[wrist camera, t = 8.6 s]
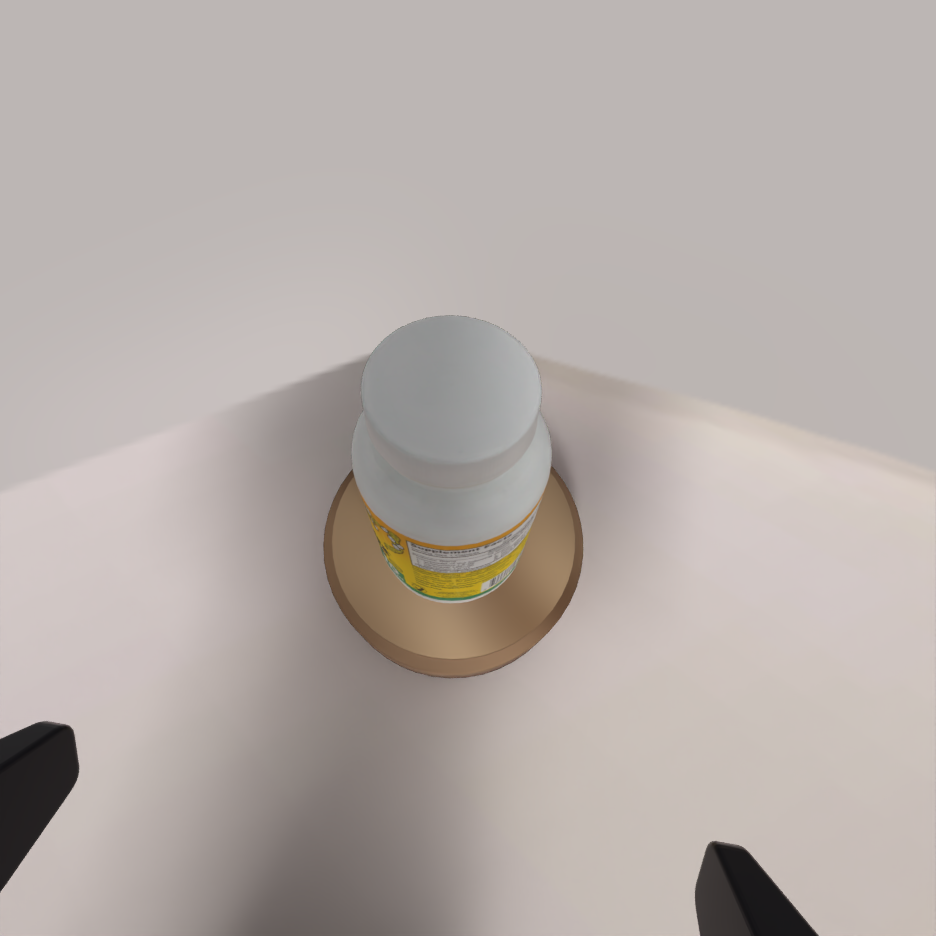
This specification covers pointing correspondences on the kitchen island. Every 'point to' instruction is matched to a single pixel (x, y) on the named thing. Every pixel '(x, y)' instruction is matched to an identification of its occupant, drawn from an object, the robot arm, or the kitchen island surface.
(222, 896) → the kitchen island surface
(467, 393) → the supplement bottle
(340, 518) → the pedestal
